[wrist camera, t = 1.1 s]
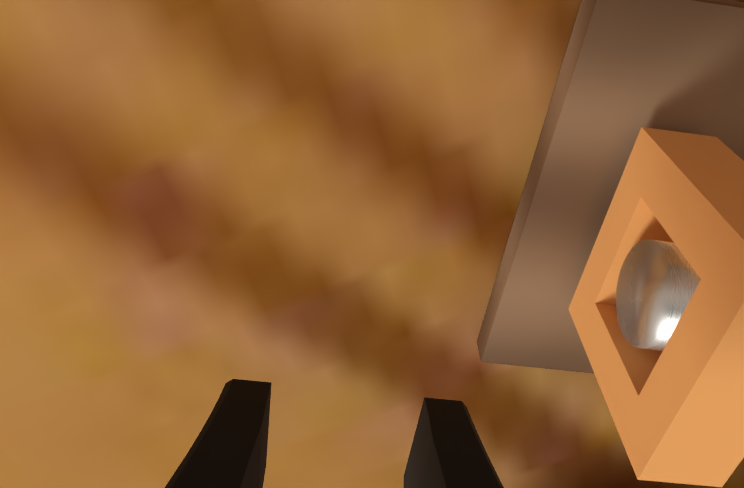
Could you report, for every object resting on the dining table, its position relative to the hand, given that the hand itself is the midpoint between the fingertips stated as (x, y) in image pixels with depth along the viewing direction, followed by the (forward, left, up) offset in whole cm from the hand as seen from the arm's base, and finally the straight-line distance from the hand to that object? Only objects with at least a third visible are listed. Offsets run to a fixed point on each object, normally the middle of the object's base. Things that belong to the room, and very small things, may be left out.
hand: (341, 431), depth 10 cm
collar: (0, -8, -8) cm, 11 cm away
